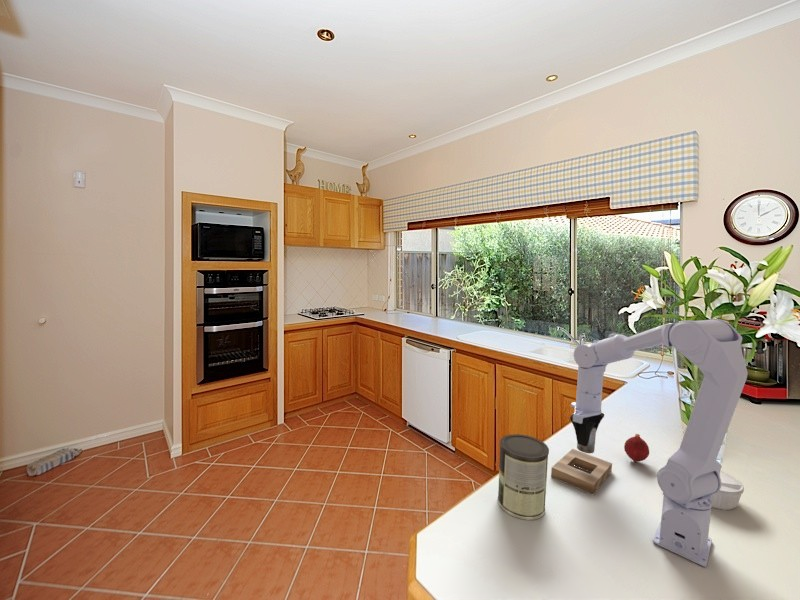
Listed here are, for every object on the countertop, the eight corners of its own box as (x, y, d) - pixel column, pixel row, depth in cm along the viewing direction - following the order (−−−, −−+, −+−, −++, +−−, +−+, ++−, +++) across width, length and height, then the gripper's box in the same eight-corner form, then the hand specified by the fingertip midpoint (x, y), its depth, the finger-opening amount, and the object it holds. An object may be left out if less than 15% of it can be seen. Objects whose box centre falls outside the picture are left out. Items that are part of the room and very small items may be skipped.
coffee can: (488, 495, 82) (490, 437, 81) (523, 486, 86) (526, 431, 85) (517, 525, 73) (521, 460, 72) (556, 514, 76) (559, 452, 75)
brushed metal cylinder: (591, 455, 88) (593, 432, 87) (574, 448, 91) (576, 426, 90) (596, 449, 91) (598, 427, 90) (579, 443, 94) (581, 422, 93)
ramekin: (718, 517, 76) (721, 494, 76) (667, 486, 87) (669, 466, 87) (754, 509, 79) (757, 487, 79) (700, 480, 90) (702, 460, 90)
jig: (593, 495, 83) (593, 485, 83) (551, 476, 90) (551, 467, 90) (611, 472, 93) (612, 463, 93) (572, 457, 100) (572, 448, 100)
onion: (652, 468, 95) (654, 440, 94) (628, 466, 96) (631, 437, 95) (642, 457, 101) (644, 430, 100) (619, 455, 102) (622, 428, 101)
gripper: (583, 380, 97) (579, 427, 99) (561, 392, 87) (558, 445, 89) (611, 387, 92) (607, 437, 93) (592, 401, 82) (588, 456, 83)
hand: (585, 441), depth 91 cm, fingers closed on brushed metal cylinder, 4 cm apart
